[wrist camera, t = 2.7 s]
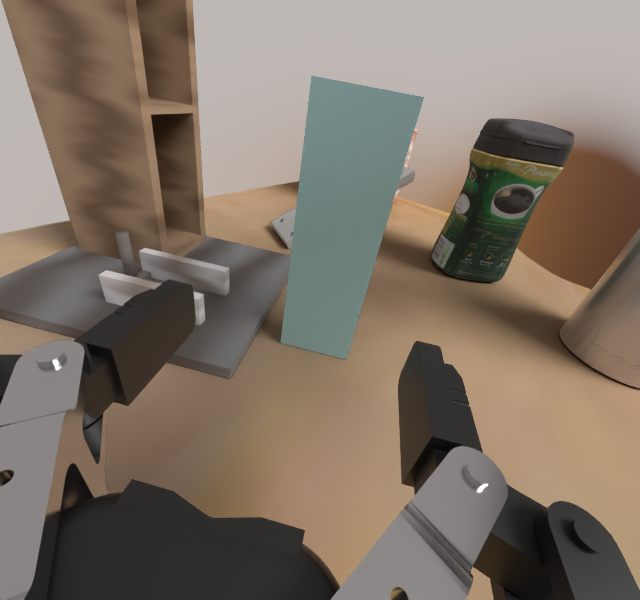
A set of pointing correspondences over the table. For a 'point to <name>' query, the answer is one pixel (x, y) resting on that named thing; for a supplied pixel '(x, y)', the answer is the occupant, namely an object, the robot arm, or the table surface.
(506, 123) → the coffee jar
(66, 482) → the robot arm
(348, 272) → the teal rectangular block
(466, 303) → the table surface
